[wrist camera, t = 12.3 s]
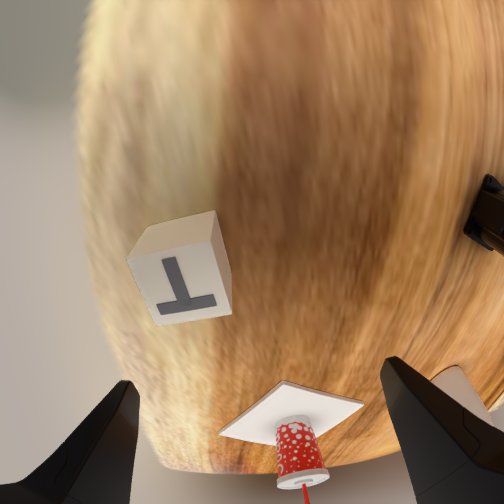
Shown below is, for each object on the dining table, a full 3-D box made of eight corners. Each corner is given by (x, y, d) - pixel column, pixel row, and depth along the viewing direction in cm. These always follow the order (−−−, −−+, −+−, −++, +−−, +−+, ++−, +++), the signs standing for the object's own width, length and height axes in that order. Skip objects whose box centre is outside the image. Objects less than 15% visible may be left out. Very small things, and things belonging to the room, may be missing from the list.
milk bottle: (413, 392, 33) (461, 497, 15) (452, 359, 30) (513, 461, 13) (429, 399, 35) (472, 489, 18) (464, 370, 33) (514, 458, 15)
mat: (282, 379, 27) (283, 384, 27) (363, 401, 32) (364, 404, 31) (218, 430, 32) (218, 434, 32) (297, 445, 36) (297, 448, 36)
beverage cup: (283, 409, 29) (302, 515, 17) (324, 413, 31) (349, 507, 18) (261, 430, 32) (271, 524, 19) (299, 434, 33) (316, 519, 21)
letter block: (215, 209, 19) (210, 241, 14) (231, 271, 21) (232, 315, 17) (147, 225, 19) (125, 259, 15) (169, 283, 21) (156, 327, 17)
